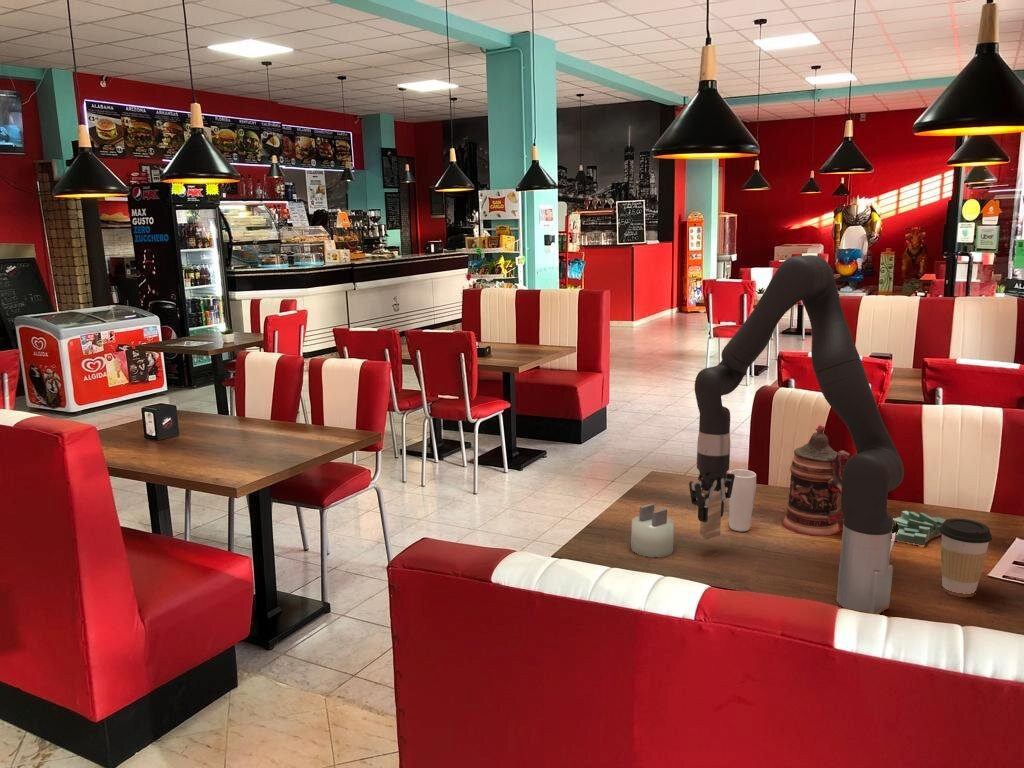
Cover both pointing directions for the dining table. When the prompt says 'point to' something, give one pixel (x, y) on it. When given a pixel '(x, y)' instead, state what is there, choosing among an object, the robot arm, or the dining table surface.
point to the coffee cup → (963, 554)
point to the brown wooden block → (712, 517)
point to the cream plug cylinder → (652, 532)
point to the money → (917, 527)
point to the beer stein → (815, 488)
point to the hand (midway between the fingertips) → (710, 518)
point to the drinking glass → (742, 500)
